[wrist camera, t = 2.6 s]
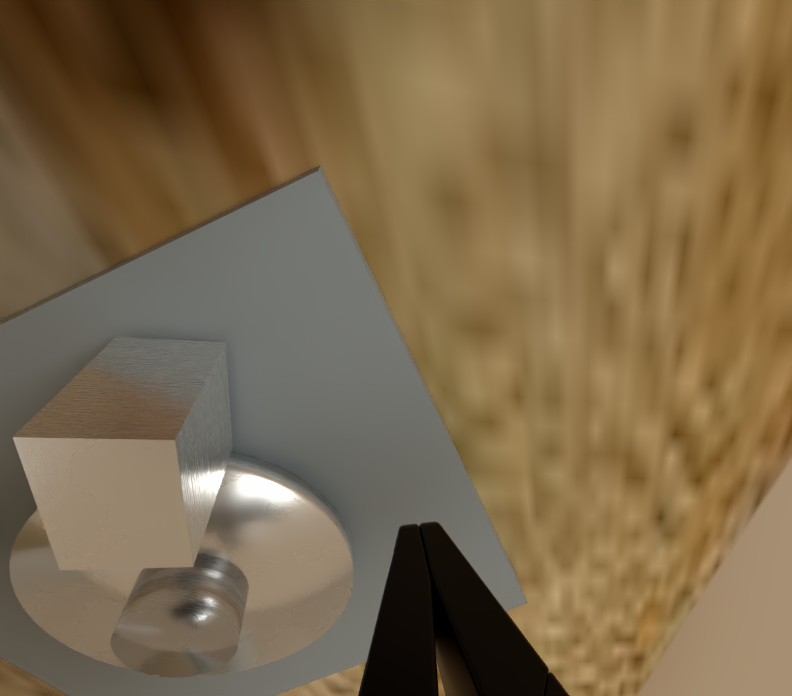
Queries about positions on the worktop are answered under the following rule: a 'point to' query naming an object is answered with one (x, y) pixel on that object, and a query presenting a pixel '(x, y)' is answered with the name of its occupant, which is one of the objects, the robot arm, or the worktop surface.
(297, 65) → the worktop surface
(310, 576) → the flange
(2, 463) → the base board
